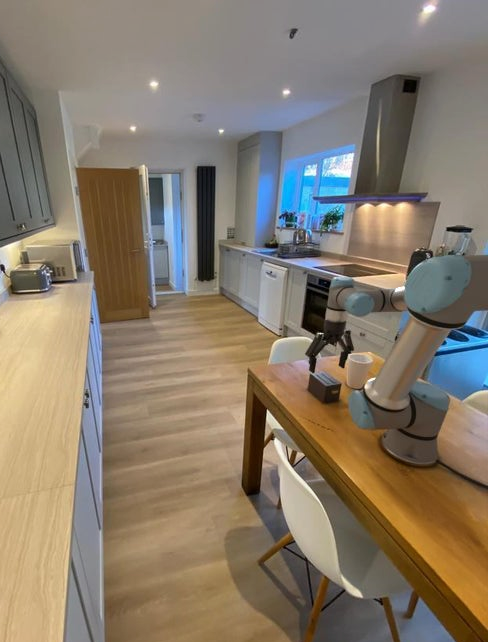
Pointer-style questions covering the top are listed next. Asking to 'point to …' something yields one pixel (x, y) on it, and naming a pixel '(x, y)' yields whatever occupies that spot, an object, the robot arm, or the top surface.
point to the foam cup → (358, 369)
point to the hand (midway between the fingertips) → (326, 369)
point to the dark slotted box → (324, 386)
